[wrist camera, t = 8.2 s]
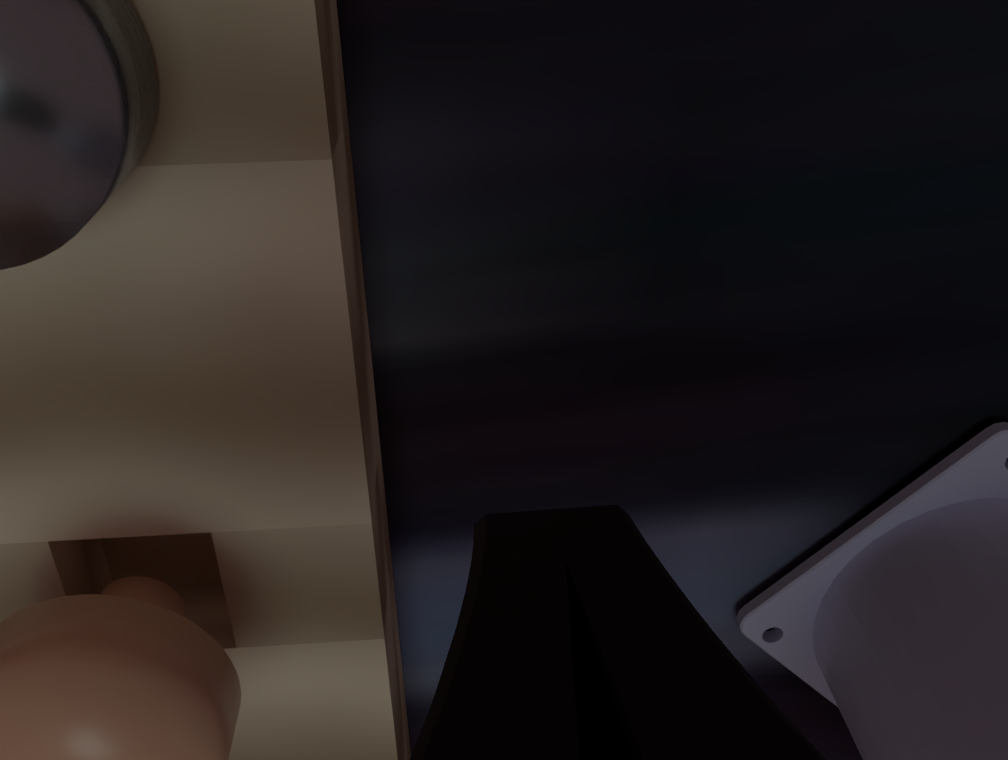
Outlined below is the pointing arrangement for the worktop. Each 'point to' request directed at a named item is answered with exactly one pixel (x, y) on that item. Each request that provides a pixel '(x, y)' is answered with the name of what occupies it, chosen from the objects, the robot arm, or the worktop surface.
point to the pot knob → (114, 679)
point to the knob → (68, 116)
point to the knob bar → (219, 386)
